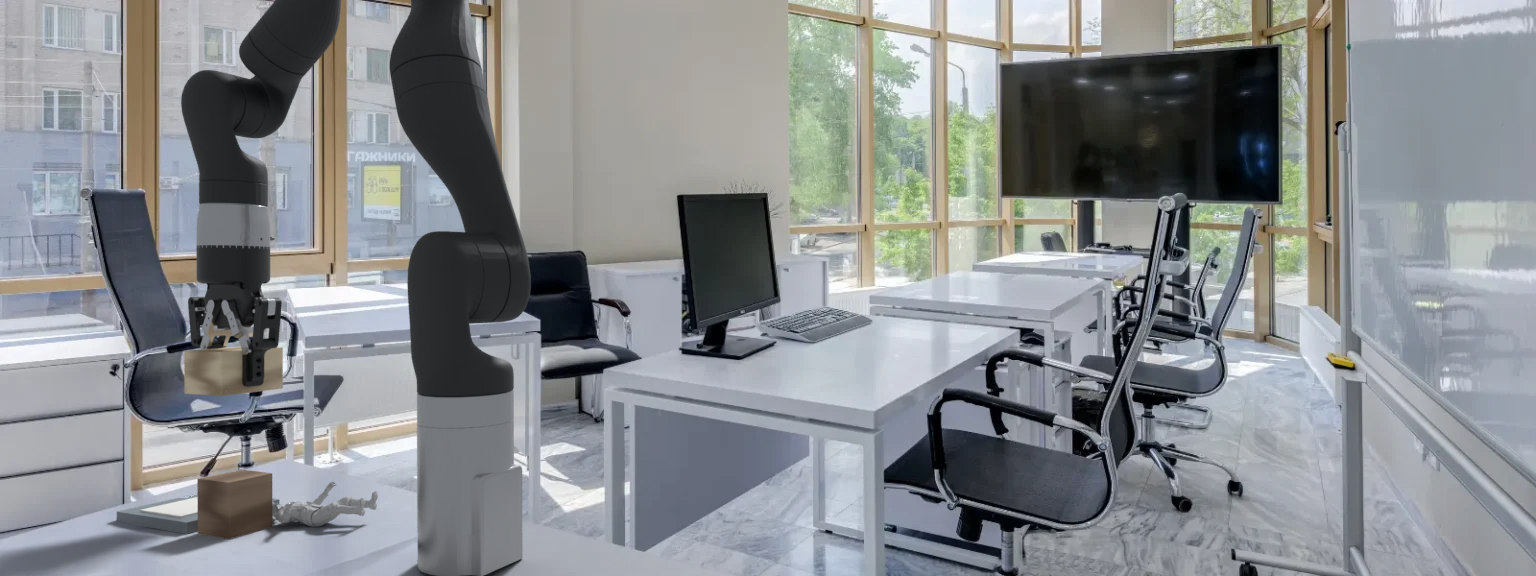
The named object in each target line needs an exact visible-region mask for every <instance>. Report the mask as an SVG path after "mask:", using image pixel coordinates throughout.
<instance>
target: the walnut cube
mask: <svg viewBox="0 0 1536 576" xmlns="http://www.w3.org/2000/svg"><path fill="white" fill-rule="evenodd" d="M197 494H198V531H197V535H201V536H208V537H215V538H222V539H227V540H232V539H234V538H239V537H242V536H244V535H245V536H246V535H249V534H253V533H255V532H259V531H263V530H266V529H267V530H268V529H271V528H273V526H274V523H273V522H274V521H273V512H272V499H273V472H266V471H265V472H264V471H257V470H256V471H255V470H249V469H248V470H247V469H246V470H245V469H238V470H233V471H228V472H223V473H219V474H212V475H209V476H205V477H199V478H197Z"/></svg>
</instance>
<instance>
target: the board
mask: <svg viewBox="0 0 1536 576" xmlns="http://www.w3.org/2000/svg"><path fill="white" fill-rule="evenodd" d="M196 494H197V495H194V494H193V495H194V496H192V497H191V496H189V495H188V496H189V497H188V498H180V497H177V498H170V499H167V500H163V501H159V502H158V501H157V502H154V503H150V504H149V503H148V504H144V505H139V506H136V507H130V508H127V509H121V510H119V511H118V510H117V511H116V521H117V520H119V521H118V522H122V523H126V522H127V524H130V523H131V525H134V526H138V527H143V528H151V529H157V530H162V531H168V532H174V533H180V534H186V535H187V534H191V533H195V532H198V493H196ZM272 502H274V503H275V504H276V506H278V505H280V499H279V498H272Z"/></svg>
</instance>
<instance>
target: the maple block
mask: <svg viewBox="0 0 1536 576" xmlns="http://www.w3.org/2000/svg"><path fill="white" fill-rule="evenodd" d="M283 349H284V347H282V346H281V347H280V346H278V347H277V348H272V349H269V350H268V351H267V353H265V355H264V382H263V384H262V385H260V386H251V387H247V386H244V385H243V384H242V355H245V354H244V353H243V352H242V349H241V346H230V347H228V346H227V347H226V348H213V349H201V348H200V349H190V350H189V349H188V350H187V349H186V350H184V352H183V353H184V356H183V357H184V365H183V366H184V367H183V368H184V373H183V374H184V376H183V377H184V379H183V381H184V384H183V386H184V388H183V389H184V393H183V394H184V395H198V396H199V395H200V396H212V397H225V396H234V395H240V394H241V395H242V394H249V393H257V392H263V391H264V392H265V391H273V390H281V389H283V388H284V387H283V386H284V384H283V383H284V381H283V379H284V377H283V376H284V375H283V373H284V370H283V369H284V365H283V364H284V354H283V352H284V350H283Z"/></svg>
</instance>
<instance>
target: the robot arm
mask: <svg viewBox="0 0 1536 576" xmlns="http://www.w3.org/2000/svg"><path fill="white" fill-rule="evenodd" d="M341 6H342V0H274V1H273V3H271V5H270V6H269V7H268V9H267V10H266V11H265V12H264V13H263V15H262V16H261V17H260V19H258V21H257V22H256V23H255V24H254V25H253V27H252V28H251V29H250V30H249V32H248V33H247V34H246V36H245V37H244V38H243V40H242V42H241V43H240V44H239V48H238V55H239V58H240V60H241V63H242V64H243V65H244V66H245V68H246V69H247V70H248V71H249V72H250V73H252V74H253V75H254V76H253V77H251V78H247V77H244V76H238V75H235V74H231V73H228V72H224V71H219V70H214V69H204V70H199V71H197V72H195V73H194V74H193V75H191V76H190V78H189V79H188V80H187V81H186V82H185V85H184V87H183V89H182V93H181V101H180V106H181V113H182V118H183V121H184V124H185V128H186V132H187V134H188V137H189V140H190V144H191V148H192V152H193V155H194V158H195V161H196V164H197V167H198V176H199V177H198V203H199V205H198V213H197V218H196V229H195V230H196V235H195V236H196V281H197V283H200V284H206V286H207V287H206V292H205V295H204V296H190V297H188V300H187V304H188V305H187V308H188V318H189V319H188V320H189V333H190V343H191V346H193V347H199V348H200V349H213V348H227V347H228V344H229V340H230V338H231V337H232V336H233V337H234V338H237V340H238V343H239V345H240V346H241V349H242V352H243V353H244V354H245V355H242V384H243V385H244V386H247V387H251V386H260V385H262V384H263V382H264V355H265V353H267V351H268V350H269V349H272V348H277V347H279V344H280V343H279V341H280V330H281V329H280V328H281V317H282V305H283V301H282V299H281V298H280V297H264V294H263V290H262V285H264V284H268V283H269V282H270V281H271V221H270V216H269V186H268V185H269V175H268V168H267V165H266V164H265V162H264V161H262V160H261V159H259V158H257V157H255V156H252V155H250V154H248V153H246V152H245V151H244V150H242V149H241V147H240V144H239V142H238V139H237V137H242V138H245V139H247V138H248V139H252V140H253V139H262V138H266V137H268V136H271V135H273V134H274V133H275V132H276V131H278V130H279V129H280V128H281V126H282V125H283V124H284V123H285V120H286V118H287V116H288V114H289V111H290V108H291V105H292V103H293V100H294V98H295V96H296V94H297V91H298V88H299V86H300V84H301V81H302V79H303V77H304V76H306V74H307V73H308V72H309V71H310V70H311V69H312V67H314V66H315V64H316V63H317V61H318V60H319V59H320V58H322V56H323V55H324V54H325V52H326V51H327V50H328V49H329V47H330V45H331V44H332V42H333V40H334V39H335V37H336V34H337V32H338V29H339V24H340V18H341V9H342V8H341ZM408 14H409V15H408V16H407V19H406V20H405V22H404V24H403V25H402V27H401V29H400V31H399V33H398V34H397V36H396V39H395V41H394V43H393V45H392V49H391V52H390V58H389V75H390V82H391V87H392V91H393V97H394V103H395V110H396V114H397V118H398V120H399V123H400V126H401V128H402V130H403V131H404V134H405V135H406V136H407V138H408V140H409V141H410V142H411V144H412V145H413V147H414V148H415V150H416V151H417V153H419V155H421V157H422V158H423V160H424V161H425V162H426V163H427V164H428V166H429V167H430V168H431V170H433V172H434V173H435V175H436V176H437V177H438V178H439V179H440V181H441V182H442V183H443V185H444V187H446V188H447V191H448V192H449V193H450V195H451V198H452V199H453V201H454V203H455V205H456V207H457V210H458V213H459V216H460V219H461V222H462V225H463V229H464V231H450V230H449V231H447V230H446V231H445V230H443V231H442V230H438V231H431V232H427V233H425V234H423V235H422V236H421V237H420V238H419V239H418V240H417V242H415V244H414V247H413V248H412V250H411V253H410V256H409V261H408V266H407V267H408V268H407V281H406V283H407V284H406V285H407V303H408V316H409V317H408V319H409V334H410V354H411V356H410V357H411V362H412V366H413V369H414V375H415V378H416V493H417V494H416V495H417V496H416V497H417V498H416V502H417V503H416V504H417V505H416V508H417V509H416V510H417V511H416V512H417V513H416V515H417V516H416V521H417V522H416V523H417V524H416V525H417V526H416V528H417V569H418V570H419V572H421V573H424V574H428V575H430V576H486V575H489V574H491V573H493V572H495V571H498V570H499V569H502V568H504V567H507V566H509V565H510V564H513V563H515V562H517V561H520V560H522V559H523V552H524V551H523V550H524V549H523V546H524V545H523V543H524V541H523V535H524V534H523V467H522V466H521V465H519V464H515V433H514V431H515V429H514V427H515V425H514V424H515V423H514V422H515V420H514V419H515V416H514V415H515V414H514V413H515V409H514V408H515V403H514V402H515V400H514V398H515V396H514V395H515V394H514V392H515V389H514V388H515V384H514V382H515V374H514V368H513V365H512V364H511V363H510V361H508V360H506V359H504V358H500V357H497V356H495V355H494V356H493V355H491V354H489V353H486V352H485V351H483V350H482V349H480V348H479V347H478V346H477V345H476V344H475V343H474V341H473V339H472V333H471V326H470V324H471V325H472V324H488V323H489V324H490V323H491V324H492V323H493V324H494V323H503V322H509V321H513V320H516V319H517V318H519V317H520V316H521V315H522V314H523V312H524V311H525V310H526V308H527V306H528V303H529V299H530V296H531V288H532V284H531V282H532V281H531V280H532V276H531V275H532V274H531V269H530V261H529V257H528V252H527V248H526V245H525V242H524V238H523V234H522V232H521V229H520V226H519V222H518V219H517V217H516V213H515V210H514V207H513V203H512V200H511V197H510V194H509V190H508V187H507V183H506V180H505V176H504V172H503V169H502V164H501V160H500V156H499V151H498V147H497V143H496V138H495V133H494V129H493V128H494V127H493V124H492V118H491V117H492V116H491V111H490V105H489V104H490V103H489V98H488V93H487V89H486V84H485V79H484V75H483V69H482V64H481V60H480V56H479V52H478V48H477V44H476V42H477V41H476V38H475V32H474V25H473V20H472V15H471V8H470V4H469V0H410V11H409V13H408ZM201 326H202V327H201ZM267 329H268V337H267V338H266V336H265V333H266V332H267ZM201 332H203V335H201ZM250 337H252V340H251V339H250ZM251 341H252V342H251ZM240 346H239V347H240Z"/></svg>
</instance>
